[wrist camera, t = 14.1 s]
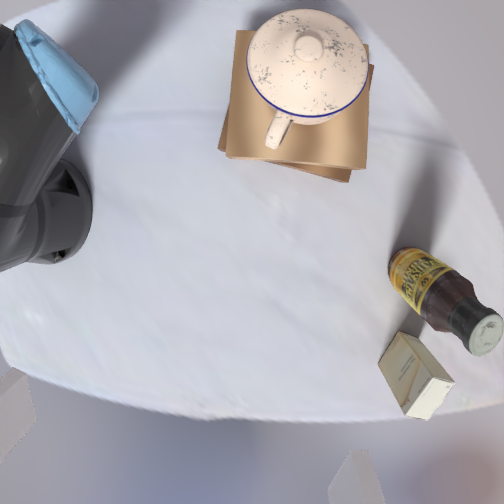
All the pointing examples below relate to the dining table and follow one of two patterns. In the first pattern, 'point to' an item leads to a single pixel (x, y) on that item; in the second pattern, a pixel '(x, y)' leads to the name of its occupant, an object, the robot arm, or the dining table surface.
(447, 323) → the sauce bottle
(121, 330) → the dining table surface
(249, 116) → the tower top block
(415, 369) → the skincare box
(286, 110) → the teacup with lid
